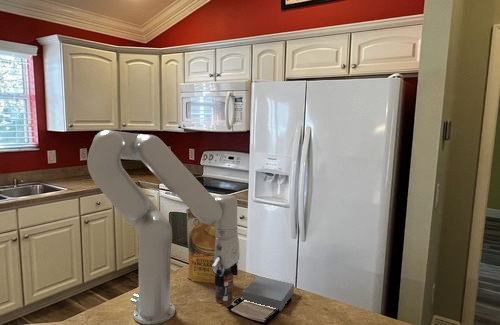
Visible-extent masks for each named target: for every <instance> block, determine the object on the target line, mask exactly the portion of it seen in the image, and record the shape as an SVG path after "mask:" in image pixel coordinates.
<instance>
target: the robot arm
mask: <svg viewBox="0 0 500 325" xmlns="http://www.w3.org/2000/svg"><path fill="white" fill-rule="evenodd" d="M121 159H122V160H131V161H132V160H133V161H135V160H136V161H141V162H142V163H143V164H144V165H145V166H146V167H147V168H148V170H149V171H150V172H151V173H152V174H153V175H154V176H155V177H156V178H157V179H158V181H160V183H162V185H163V186H164V187H165V188H166V189H168V191H169V192H171V193H172V194H173V195H174V196H176V197H177V198H178V199H180V200H181V201H182V203H184V204H185V205H186V206H187V207H188V209H189V208H190V210H191V212H192V214H193V215H194V216H195V217H196V218H198V219H199V220H200V221H201V222H203V223H204V224H207V225H213V224H215V237H216V242H215V257H214V260H215V262H214V264H213V265H212V269H213V273H214V275H215V284H214V286H215V287H216V286H218V287H222V288H223V287H224V275H223V273H224V270H225V269H229V268H231V273H232V274H233V276H234V277H235V276H236V277H237V276H238V264H239V260H240V242H239V235H238V199H237V197H236V196H235V195H231V194H222V195H218V196H213V195H212V194H211V193H210V192H209V190H207V189H206V187H204V185H203V184H202V182H200V181H199V180H198V179H197V178H196V177H195V175H194V174H193V173H191V171H190V170H189V169H188V168H187V167H186V166H185V165H184V164H183V162H182V161H181V160H179V158H178V157H177V156H176V154H174V152H173V151H172V150H171V149H170V148H169V147H168V146H167V145H166V143H164V141H163V140H162V139H161V138H159V137H158V136H157V135H154V134H143V133H134V132H133V133H131V132H125V131H117V130H111V129H106V130H101V131H99V132H98V133H97V134H95V135H94V138H93V140H92V143H91V145H90V148H89V151H88V154H87V162H86V163H87V169H88V173H89V175H90V177H91V179H92V181H93V182H94V184H95V185H96V186H97V187H98V188H99V189H100V191H101V192H102V193H103V194H104V196H105V197H106V198H107V200H109V202H110V203H111V204H112V205H113V207H114V208H115V210H116V212H118V214H119V215H121V216H122V217H123V218H125V219H126V220H127V222H129V224H130V225H131V226H132V227H133V228H134V229H135V230H136V232H137V234H138V240H139V241H138V242H139V245H138V246H139V247H138V293H134V294H133V295H132V298H131V299H130V304H133V305H135V308H134V311H133V313H132V314H133V319H134V320H135V321H136V322H138V323H139V324H142V325H156V324H157V325H158V324H162V323H164V322H166V321H168V320H170V319H172V317H173V316H174V315H175V314H176V307H175V305H174V304H173V303H171V252H172V242H173V227H172V226H171V223H170V221H169V220H168V219H167V217H166V216H165V215H164V214H163V213H162V212H161V211H160V210H159V209H158V207H157V206H156V205H155V204H154V202H153V201H152V199H150V197H149V196H148V195H147V193H146V192H145V191H144V190H143V189H142V188H141V187H140V185H137V184H136V182H135V181H134V180H133V179H132V177H130V175H129V173H128V172H127V171H126V170H125V168H124V167H123V164H122V161H121ZM220 265H222V266H220ZM219 268H221V272H220V271H219V270H218V269H219Z"/></svg>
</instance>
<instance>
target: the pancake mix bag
mask: <svg viewBox="0 0 500 325" xmlns="http://www.w3.org/2000/svg"><path fill="white" fill-rule="evenodd" d="M185 211H186V228H187V229H186V234H187V235H186V236H187V238H186V239H187V247H188V249H187V250H188V251H187V252H188V274H187V279H189V280H191V281H192V282H197V283H203V284H213V285H215V275H214V273H213V269H212V265H213V264H214V262H215V260H214V257H215V242H216V237H215V224H213V225H207V224H204V223H203V222H201V221H200V220H199V219H198V218H196V217H195V216H194V215H193V214H192V212H191V210H190V208H189V207H188V208H186V210H185ZM220 266H222V265H220ZM218 270H219V269H218Z"/></svg>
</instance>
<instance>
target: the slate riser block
mask: <svg viewBox="0 0 500 325" xmlns="http://www.w3.org/2000/svg"><path fill="white" fill-rule="evenodd" d="M294 291H295V283H291V282H287V281H284V280H283V281H282V280H278V279H274V278H268V277H264V276H260V275H259V276H257V277H256V278H255V279H253V281H252V282H251V283H249V285H248V286H246V287H245V289H243V290H242V297H241V298H242V299H244V300H247V301H250V302H254V303H257V304H261V305H265V306H270V307H273V308H278V309H279V312H282V310H283V309H284V308H285V306H286V305H287V303H288V302H289V301H288V300H290V299H291V298H292V296H293V295H294V293H295V292H294ZM242 299H241V300H242ZM287 301H288V302H287ZM285 304H286V305H285Z"/></svg>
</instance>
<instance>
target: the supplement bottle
mask: <svg viewBox="0 0 500 325" xmlns="http://www.w3.org/2000/svg"><path fill="white" fill-rule="evenodd" d="M219 271H220V272H221V268H219ZM223 275H224V287H223V288H222V287H218V286H215V301H216V302H217V303H220V304H229V303H231V302H232V301H233V298H234V292H233V291H234V275H233V274H232V273H231V268H229V269H225V270H224V273H223Z"/></svg>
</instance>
